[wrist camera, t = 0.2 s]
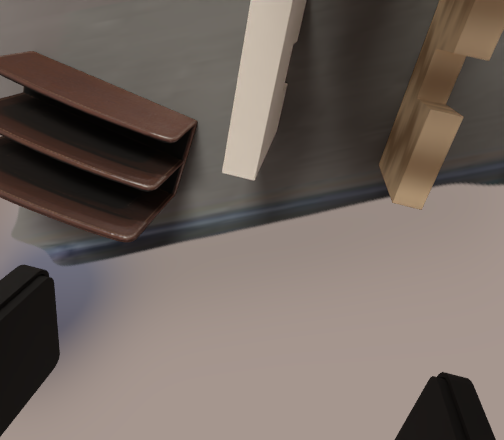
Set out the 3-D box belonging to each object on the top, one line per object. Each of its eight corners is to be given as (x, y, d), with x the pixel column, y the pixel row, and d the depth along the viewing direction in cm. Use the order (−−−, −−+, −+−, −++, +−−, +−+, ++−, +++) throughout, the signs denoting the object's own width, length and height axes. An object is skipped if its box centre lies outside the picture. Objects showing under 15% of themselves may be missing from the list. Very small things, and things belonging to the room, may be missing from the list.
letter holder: (176, 195, 48) (125, 255, 36) (26, 132, 48) (-79, 171, 35) (199, 119, 43) (149, 159, 31) (32, 49, 43) (-86, 60, 31)
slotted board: (460, -58, 33) (510, -87, 24) (490, -52, 32) (552, -79, 24) (378, 164, 42) (392, 202, 33) (401, 170, 42) (421, 209, 33)
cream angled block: (284, -24, 36) (259, -50, 23) (310, -18, 36) (301, -41, 22) (254, 125, 42) (222, 172, 29) (276, 131, 42) (254, 180, 29)
